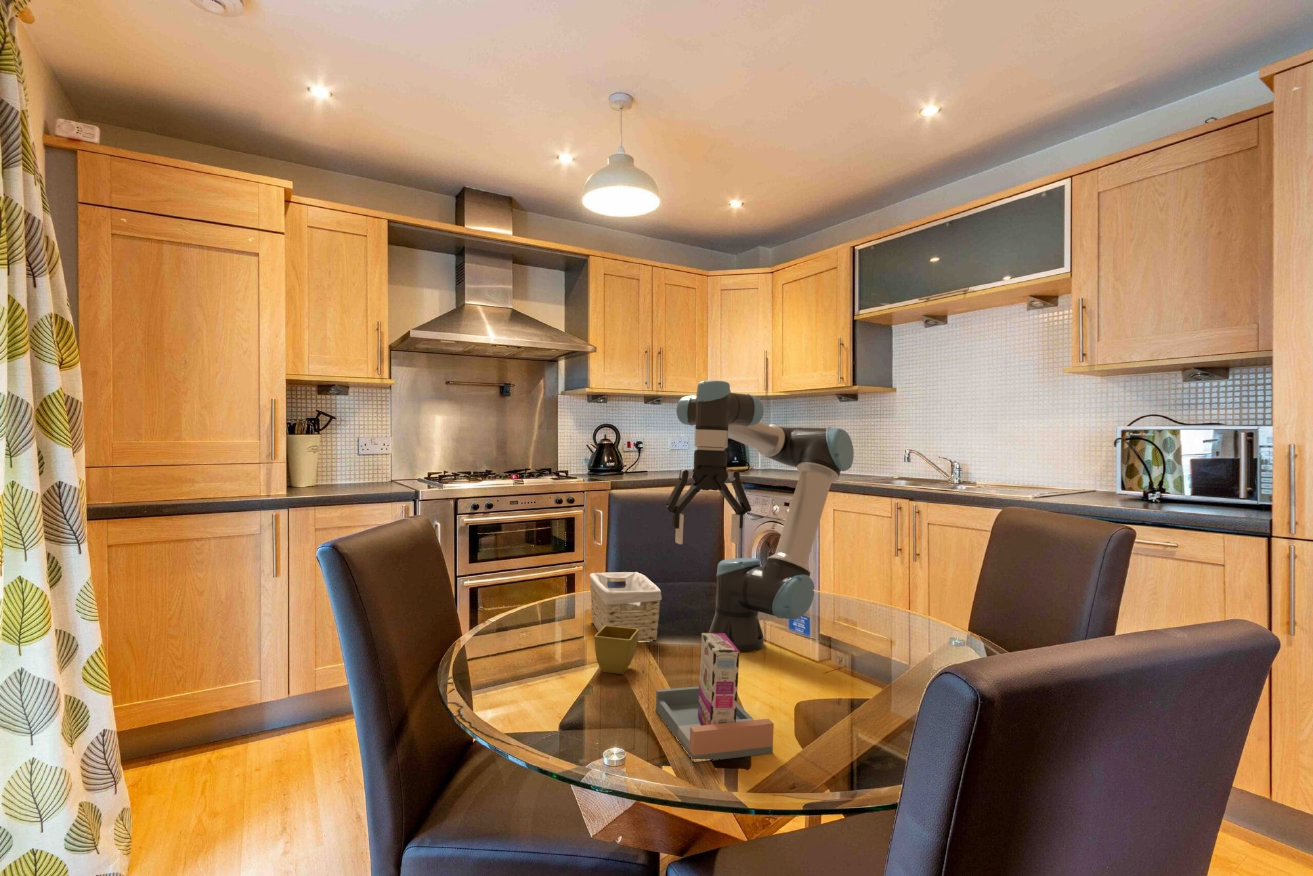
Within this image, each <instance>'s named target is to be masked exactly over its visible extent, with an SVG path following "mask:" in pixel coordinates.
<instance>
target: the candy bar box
mask: <svg viewBox="0 0 1313 876" xmlns="http://www.w3.org/2000/svg"><path fill="white" fill-rule="evenodd" d="M700 643H701V645H700V646H701V647H700V662H699V663H700V665H699V679H698V680H699V683H698V686H699V701H698V718H699V720H700V722H701V724H702V726H703V725H712V724H722V723H731V722H736V708H737V704H738V689H739V688H738V686H739V685H738V684H739V667H740V652H739V650H738V649H737V648H736V647H735V645H734V644H733V643H732V642H731V641H730V639H729V638H728V637H727V636H726V634H725V633H709V632H702V633H701V641H700Z"/></svg>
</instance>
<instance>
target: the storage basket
mask: <svg viewBox="0 0 1313 876" xmlns="http://www.w3.org/2000/svg"><path fill="white" fill-rule="evenodd" d="M609 582H611V583H612V582H614V583H615V582H617V583H618V582H625V586H624V587H609V586H608V583H609ZM589 588H590V590H589V591H590V602H591V605H590V606H591V610H590V611H591V612H590V613H591V620H593V621H592V622H593V625H594V627H595V628H596V629H597V631H598V632H599V631H600V630H601V629H602V628H603V627H604V626H616V627H626V628H635V629H639V632H638V639H637V642H638V641H651V639H652V640H656V641H657V639H658V638H657V636H658V627H659V620H660V605H661V600H662V591H661V589H660V588H659V587H658V586H657V585H656V584H655V583H654V582H652V581H651V579H649V578H648V577H647V576H646V575H644V574H642V573H639V572H638V571H635V572H633V571H632V572H630V571H628V572H627V571H622V572H619V571H618V572H617V571H615V572H613V571H612V572H611V571H610V572H592V573H590V574H589Z"/></svg>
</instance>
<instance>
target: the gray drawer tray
mask: <svg viewBox="0 0 1313 876" xmlns="http://www.w3.org/2000/svg"><path fill="white" fill-rule="evenodd" d="M655 691H656V693H655V694H656V695H655V696H656V697H655V712H656V713H657V715H658V714H659V715H660V716H659V715H658V716H659V718H660V717H661V718H662V719H663V720H662V719H661V718H660V719H661V720H662V721H664V722H665V723H666V724H665V723H664V722H663V723H664V724H665V726H666V725H667V726H668V727H669V729H670V730H671V731H672V732H673V734H674V735H675V736H676V737H677V739H678V740H679V742H680V743H681V744H682V746H683V747H684V748H685V750H686V751H687V752H688V754H689V755H690V756H691V757H692V759H711V760H712V759H713V760H712V761H719V759H720V760H725V759H726V760H727V759H737V758H744V757H751V756H760V755H770V754H773V753H774V752H773V750H774V748H773V747H774V744H773V743H774V730H775V729H774V725H775V724H774V722H773V721H772V720H770V718H761V719H754V718H753V717H752V715H750V714H749V713H748V712H747V711H746V710H745V709H744V708H743V707H742V706H741V705H740V704H739V703H737V708H736V722H731V723H722V724H712V725H703V726H702V724H701V722H700V720H699V718H698V701H699V685H698V686H687V687H686V686H685V687H677V688H665V689H664V688H663V689H656V690H655ZM667 726H666V727H667ZM668 727H667V728H668ZM669 729H668V730H669ZM670 730H669V731H670ZM671 731H670V732H671ZM673 734H672V735H673Z"/></svg>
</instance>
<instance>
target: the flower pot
mask: <svg viewBox="0 0 1313 876" xmlns="http://www.w3.org/2000/svg"><path fill="white" fill-rule="evenodd" d="M638 632H639V629H635V628H626V627H616V626H604V627H603V628H602V629H601V630H600V631H598V632H596V634H595V635H594V637H593V638H594V649H595V657H596V662H597V665H598V666H599V668H600V670H601V671H602V672H603V673H610V674H616V675H617V674H618V675H619V674H620V675H624V674H625V673H626V671H627V670H628V668H629V666H630V665H631V663H632V662H633V658H634V657H635V654H636V650H637V645H638V643H637V639H638Z"/></svg>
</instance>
